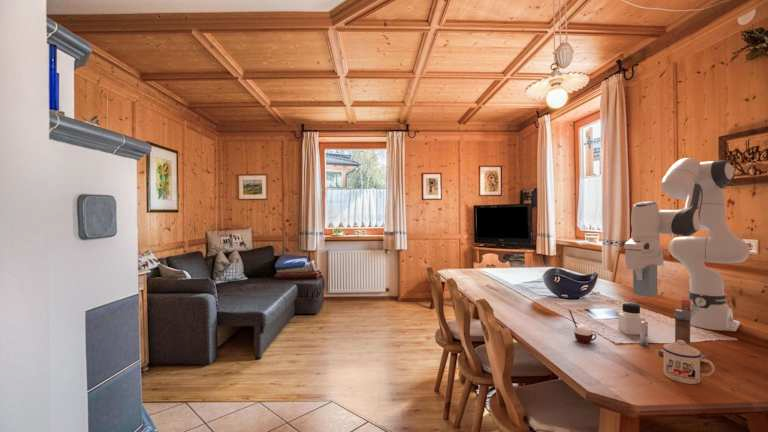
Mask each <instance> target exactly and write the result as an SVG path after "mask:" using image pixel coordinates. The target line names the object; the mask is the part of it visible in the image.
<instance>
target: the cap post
mask: <svg viewBox="0 0 768 432" xmlns="http://www.w3.org/2000/svg"><path fill="white" fill-rule="evenodd" d="M639 345H640V346H641V347H646V346H647V347H649V323H648V321H646V320H645V321H640V335H639Z"/></svg>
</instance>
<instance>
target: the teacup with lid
mask: <svg viewBox="0 0 768 432" xmlns="http://www.w3.org/2000/svg"><path fill="white" fill-rule="evenodd" d="M662 349H664V356H663V375H664V376H665V377H666V378H668V379H670V380H672V381H675V382H677V383H681V384H685V385H686V384H687V385H698V384H699V383H701V376H703V377H704V376H705V377H708V376H711V375H712V374H714V372H715V371H716V370H715V365H714V363H713V362H712V361H710V360H709V359H707V360H706V359H702V358H700V357H701V351H700V350H699V349H698V348H695V347H693V346H691V345H690V346H689V345H688V344H686V342H685V341H683V340H677V342H675V341H674V342H667V343H664V344H663V346H662ZM700 361H702V362H701V363H703V362H704V363H706V364H708V365H709V366H710V367H711V369H710V370H709V371H708V372H703V371H701V363H700Z"/></svg>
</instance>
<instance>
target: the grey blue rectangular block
mask: <svg viewBox="0 0 768 432" xmlns="http://www.w3.org/2000/svg"><path fill="white" fill-rule="evenodd" d="M632 271H633V272H632V274H633V275H632V276H633V277H632V281H633V282H632V283H633V285H632V287H633V288H632V289H633V291H632V292H633V293H632V294H633V295H636V296H641V297H646V298H651V297H655V296H658V266H657V265H649V266H647V267H646V268H644V269H643V271H642V274H643V276H644V280H637V275H636V273H635V270H632Z"/></svg>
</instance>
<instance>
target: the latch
mask: <svg viewBox="0 0 768 432" xmlns="http://www.w3.org/2000/svg"><path fill="white" fill-rule="evenodd" d="M698 311H699V306H698V305H692V299H689V298H687V297H683V298H681V308H674V311H673V312H674V313H673V314H674V315H673V316H674V320H675V319H677V320H681V321H691V317H693V316H694V315H695V314H696V313H697V312H698Z"/></svg>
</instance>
